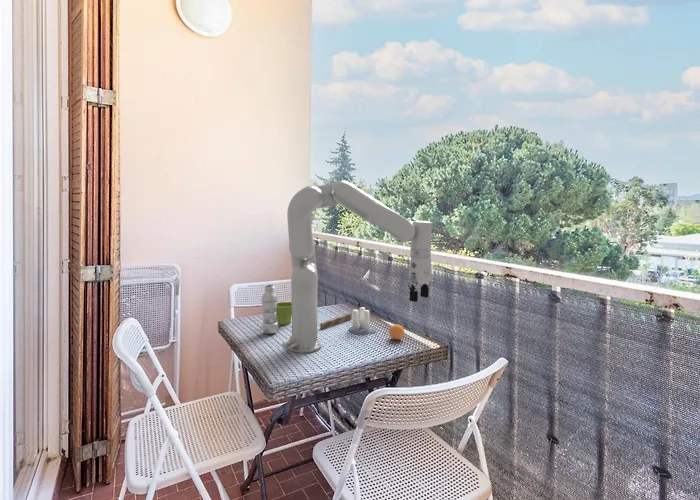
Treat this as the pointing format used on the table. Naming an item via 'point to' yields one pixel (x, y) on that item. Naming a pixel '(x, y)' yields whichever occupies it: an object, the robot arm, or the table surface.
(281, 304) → the plant pot
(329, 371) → the table surface
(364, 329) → the front pin
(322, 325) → the bar
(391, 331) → the ball
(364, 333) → the pin spot mat
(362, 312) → the pin
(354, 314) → the pin
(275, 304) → the plastic bottle
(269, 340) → the table surface
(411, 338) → the table surface
